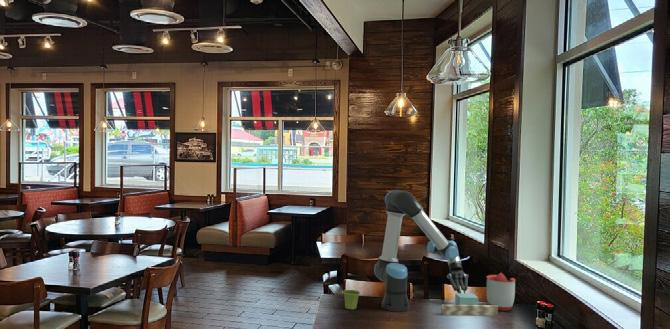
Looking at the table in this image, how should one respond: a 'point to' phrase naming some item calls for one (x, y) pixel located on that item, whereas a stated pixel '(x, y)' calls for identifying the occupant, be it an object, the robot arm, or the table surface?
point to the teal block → (465, 299)
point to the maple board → (470, 310)
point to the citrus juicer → (500, 291)
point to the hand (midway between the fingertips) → (463, 301)
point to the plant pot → (351, 298)
